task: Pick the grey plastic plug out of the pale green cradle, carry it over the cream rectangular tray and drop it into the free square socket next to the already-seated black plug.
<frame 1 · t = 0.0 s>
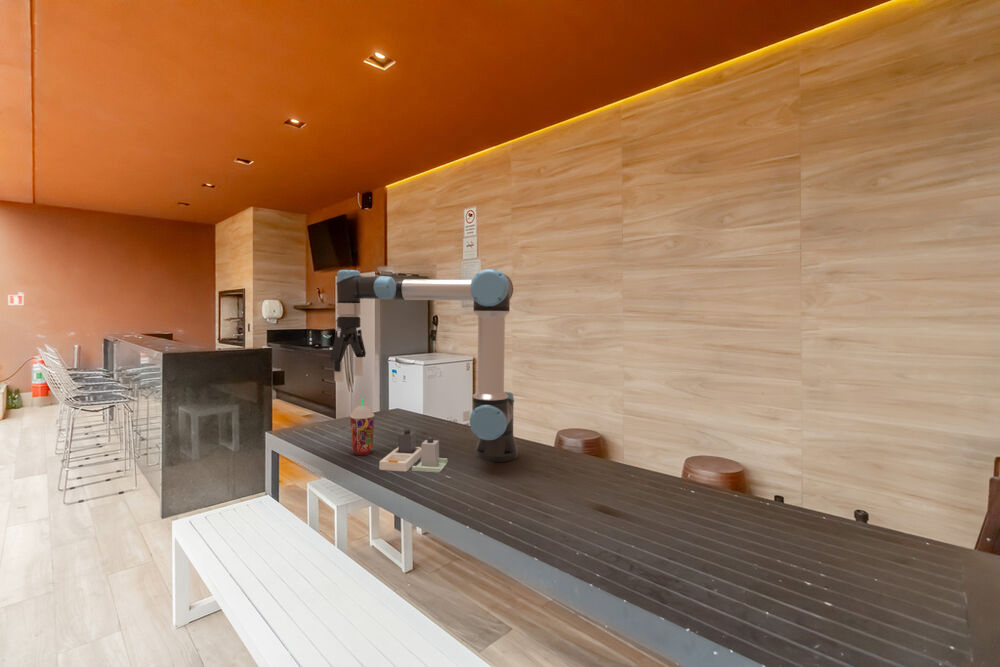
hand: (349, 378, 153), 28 cm above the table, fingers open, 13 cm apart
cream rectangular tray: (402, 462, 151), on the table
cradle: (430, 467, 147), on the table
smoothie: (362, 453, 161), on the table
plug: (430, 466, 147), resting on cradle
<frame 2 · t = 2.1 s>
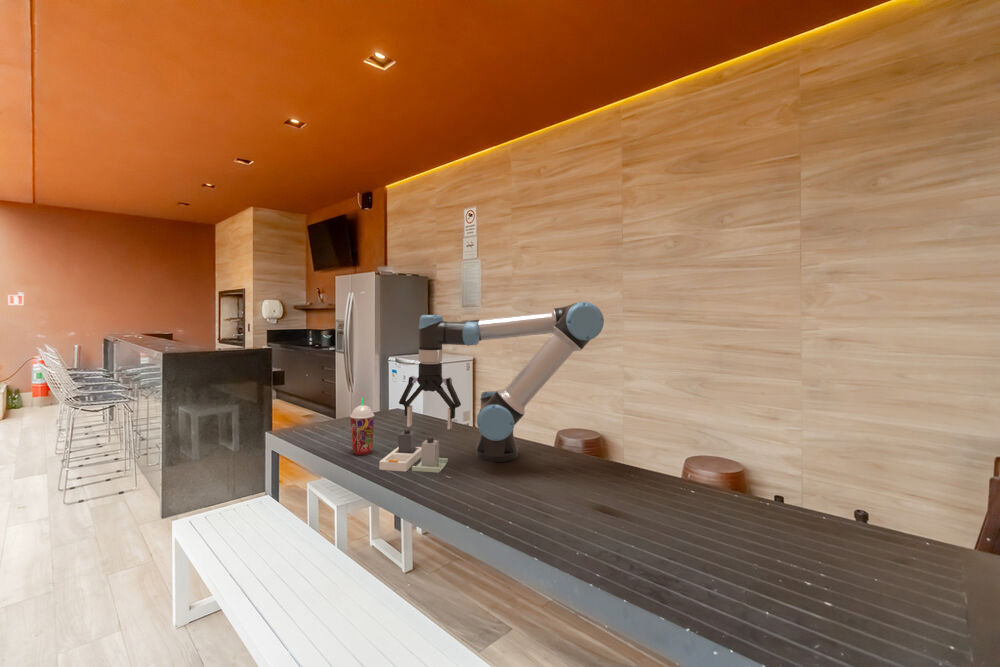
hand: (429, 427, 146), 13 cm above the table, fingers open, 13 cm apart
nothing on the table moved.
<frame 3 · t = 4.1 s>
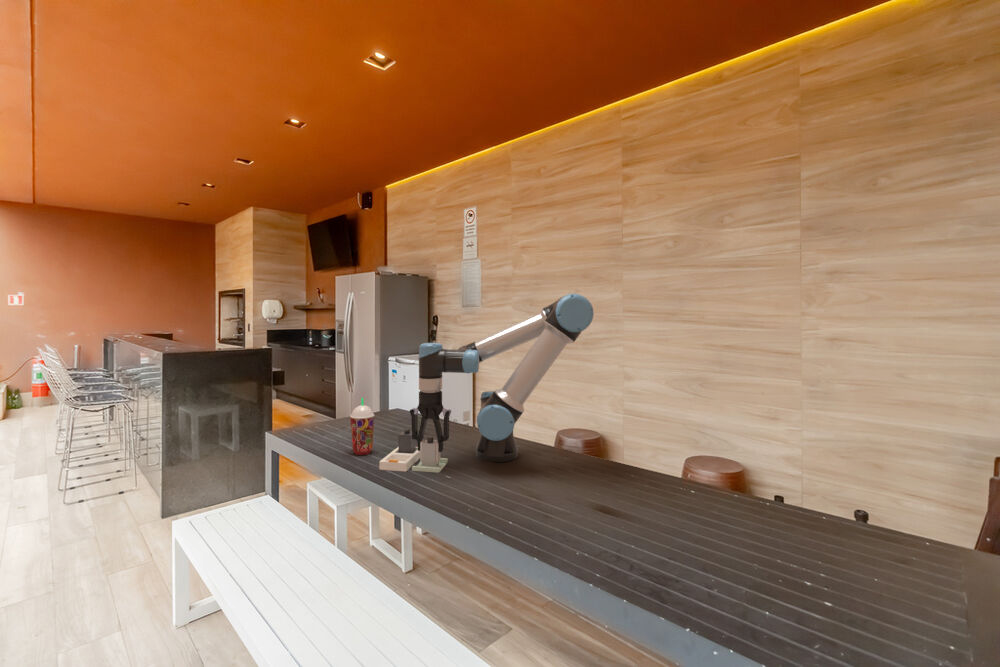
hand: (430, 460, 147), 2 cm above the table, fingers closed on plug, 4 cm apart
plug: (430, 466, 147), resting on cradle, touching gripper
everything else where it was.
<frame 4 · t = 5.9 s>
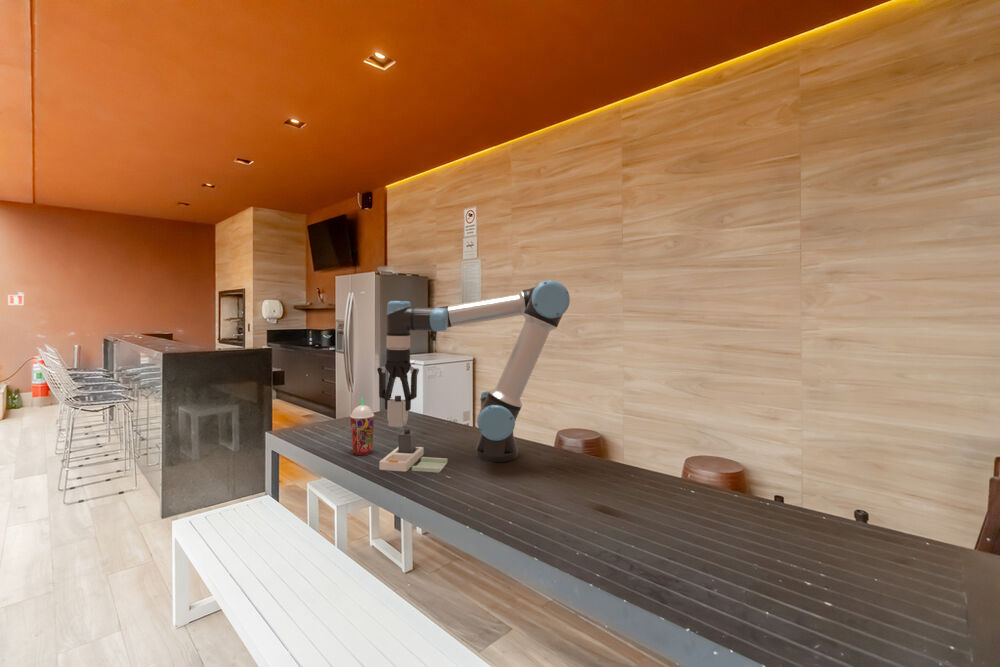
hand: (397, 419, 146), 16 cm above the table, fingers closed on plug, 4 cm apart
plug: (397, 425, 146), point 14 cm above the table, touching gripper
everything else where it was.
when the fingers open (5 cm above the table, at t = 7.7 s): plug drops 2 cm, resting on cream rectangular tray.
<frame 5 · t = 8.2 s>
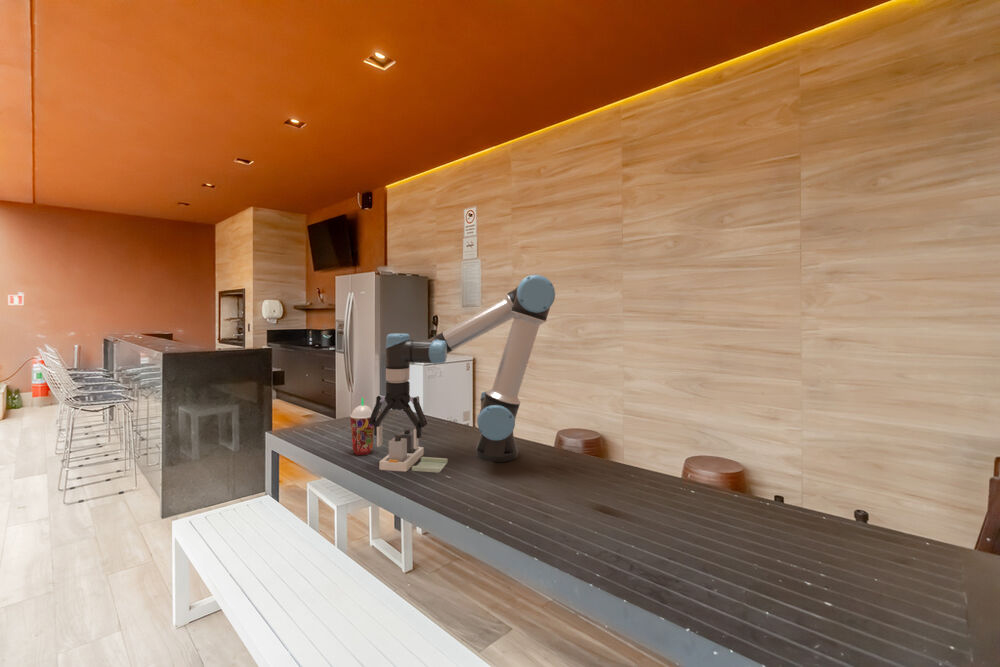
hand: (397, 446, 146), 7 cm above the table, fingers open, 12 cm apart
plug: (397, 464, 147), point 1 cm above the table, touching cream rectangular tray
everything else where it was.
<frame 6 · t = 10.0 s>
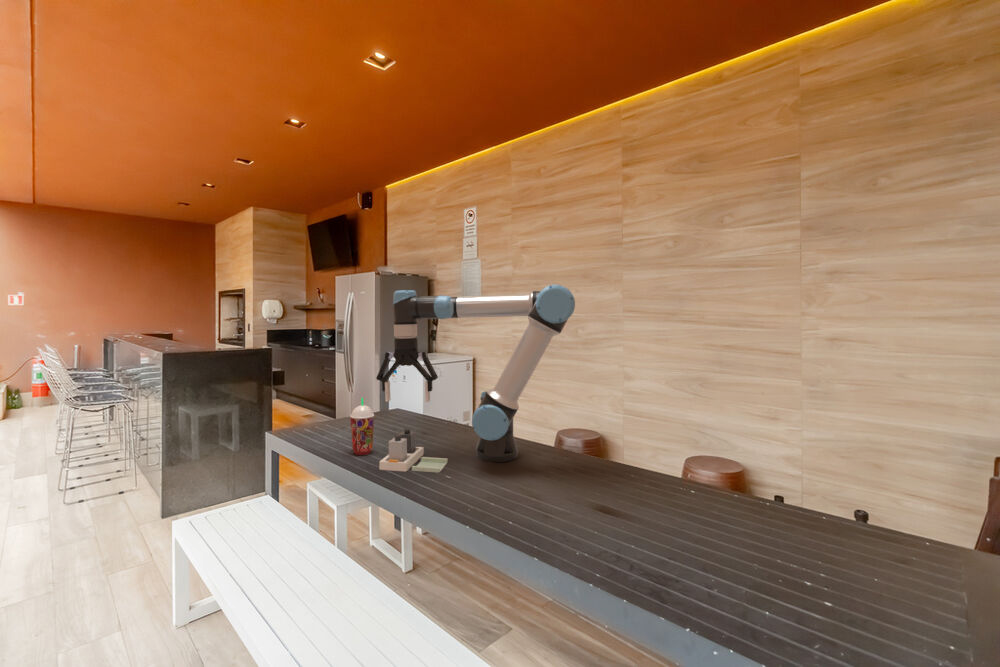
hand: (407, 401, 149), 21 cm above the table, fingers open, 13 cm apart
nothing on the table moved.
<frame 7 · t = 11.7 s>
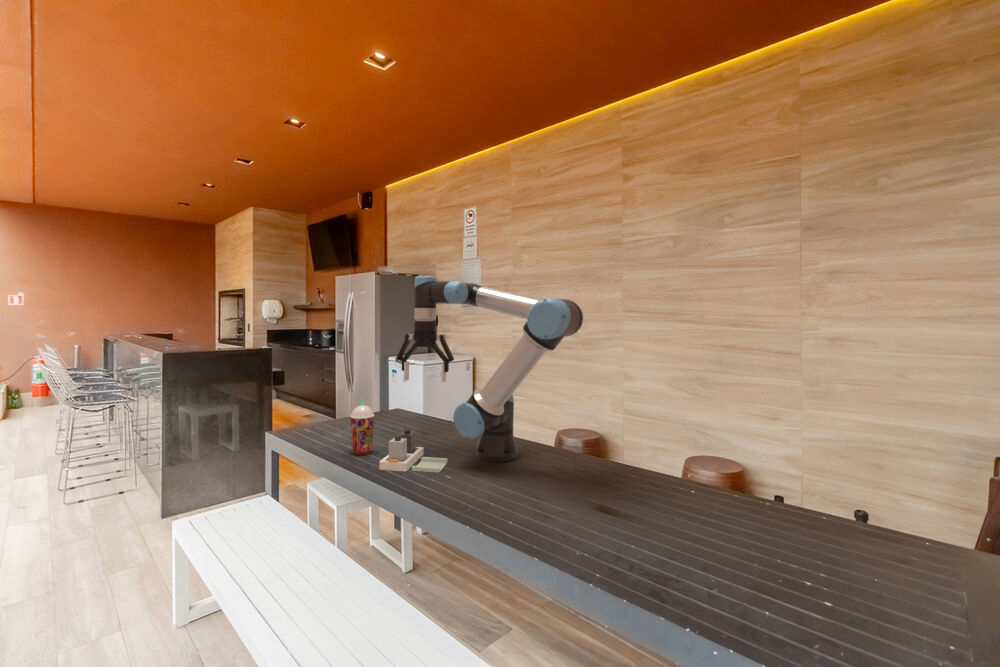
hand: (425, 380, 157), 27 cm above the table, fingers open, 13 cm apart
nothing on the table moved.
at the end: plug 0.0 cm from the target spot on the cream rectangular tray, point 1.0 cm above the cream rectangular tray's base; plug tilted 0°; the gripper is holding nothing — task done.
